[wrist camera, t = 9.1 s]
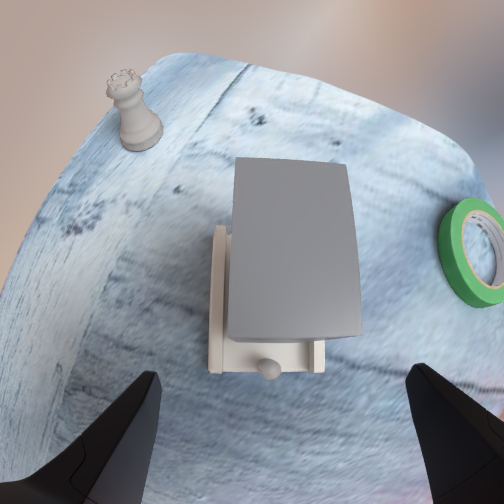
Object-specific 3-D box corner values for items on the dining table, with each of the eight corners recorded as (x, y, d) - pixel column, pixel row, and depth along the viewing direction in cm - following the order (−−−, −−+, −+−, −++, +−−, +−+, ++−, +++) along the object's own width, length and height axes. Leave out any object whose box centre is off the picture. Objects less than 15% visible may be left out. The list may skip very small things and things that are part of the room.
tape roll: (430, 292, 22) (448, 285, 20) (437, 192, 26) (450, 180, 23) (500, 319, 21) (516, 314, 19) (501, 229, 25) (515, 221, 22)
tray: (319, 371, 20) (337, 376, 16) (209, 372, 19) (201, 378, 15) (315, 238, 23) (329, 216, 19) (214, 236, 23) (209, 212, 19)
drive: (294, 343, 19) (362, 335, 8) (236, 342, 19) (226, 337, 8) (293, 260, 21) (345, 164, 10) (239, 259, 21) (235, 157, 10)
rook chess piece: (159, 153, 25) (136, 91, 18) (117, 154, 25) (88, 98, 18) (169, 120, 27) (153, 60, 19) (130, 122, 27) (107, 66, 19)
